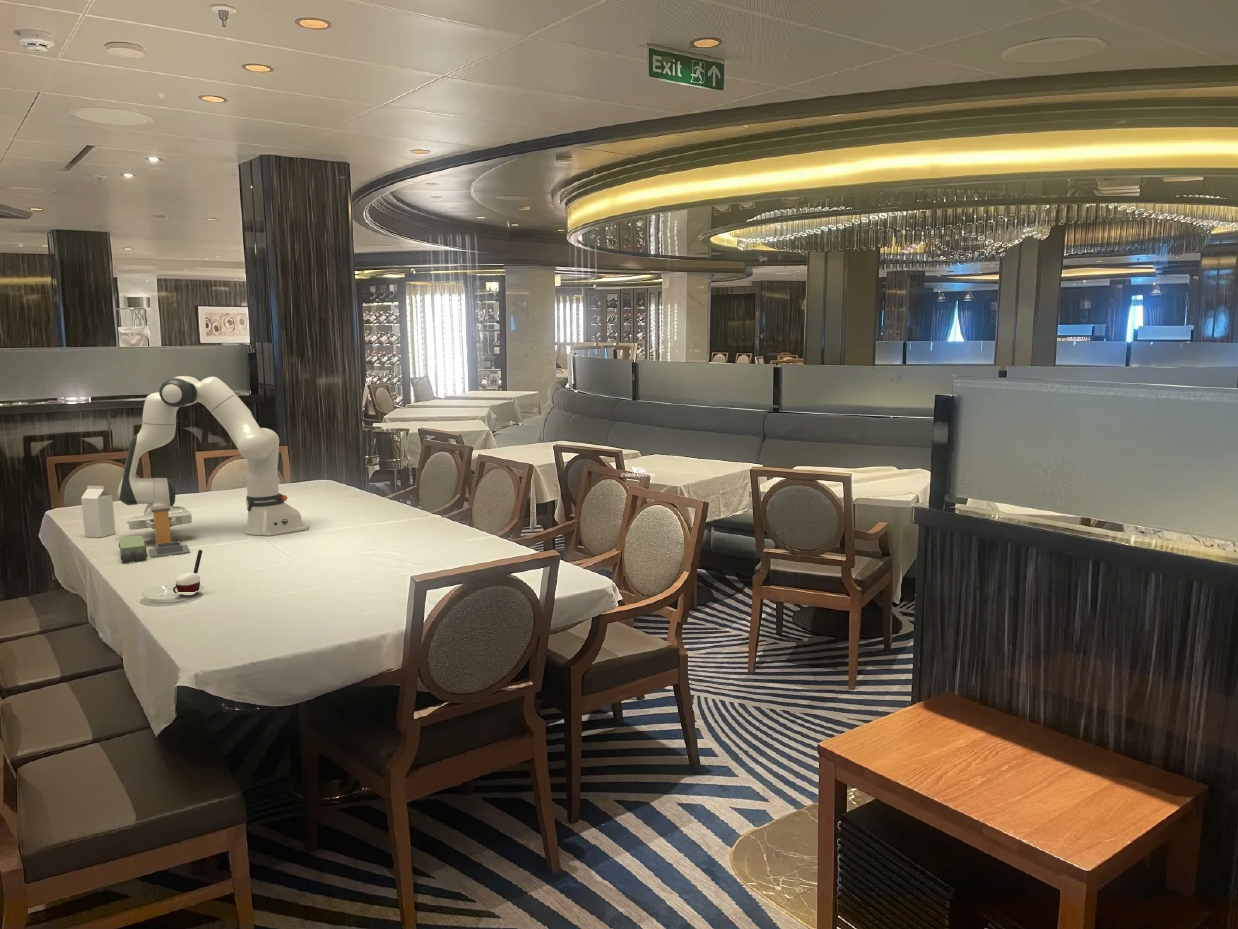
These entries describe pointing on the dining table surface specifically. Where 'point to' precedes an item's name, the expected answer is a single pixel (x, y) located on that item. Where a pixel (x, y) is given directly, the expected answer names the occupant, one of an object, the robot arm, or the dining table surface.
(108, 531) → the milk carton
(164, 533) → the orange tall block
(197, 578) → the cocoa
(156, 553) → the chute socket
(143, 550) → the green dark block
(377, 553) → the dining table surface
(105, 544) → the dining table surface
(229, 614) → the dining table surface
